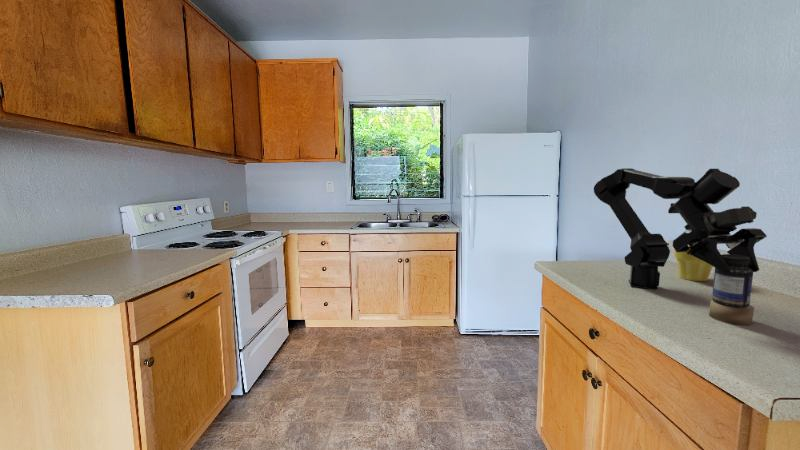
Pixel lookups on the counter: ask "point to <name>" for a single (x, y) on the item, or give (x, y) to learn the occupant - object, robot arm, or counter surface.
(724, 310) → the stand
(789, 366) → the counter surface
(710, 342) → the counter surface
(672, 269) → the counter surface
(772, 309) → the counter surface
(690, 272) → the plant pot
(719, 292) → the pill bottle
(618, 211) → the robot arm
